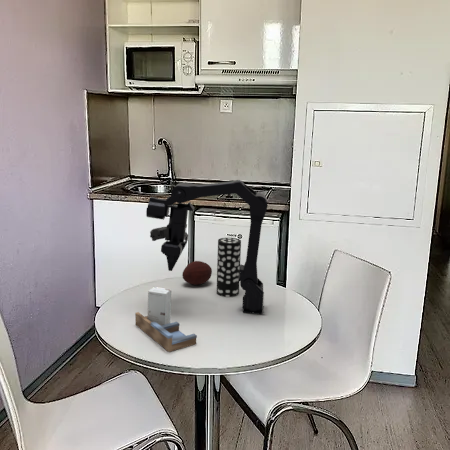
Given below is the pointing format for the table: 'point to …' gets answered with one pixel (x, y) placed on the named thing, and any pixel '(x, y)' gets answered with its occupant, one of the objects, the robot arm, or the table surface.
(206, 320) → the table surface
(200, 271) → the potato
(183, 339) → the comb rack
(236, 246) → the spotted tube
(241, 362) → the table surface
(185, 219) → the robot arm
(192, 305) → the table surface
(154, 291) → the skincare box
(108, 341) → the table surface
